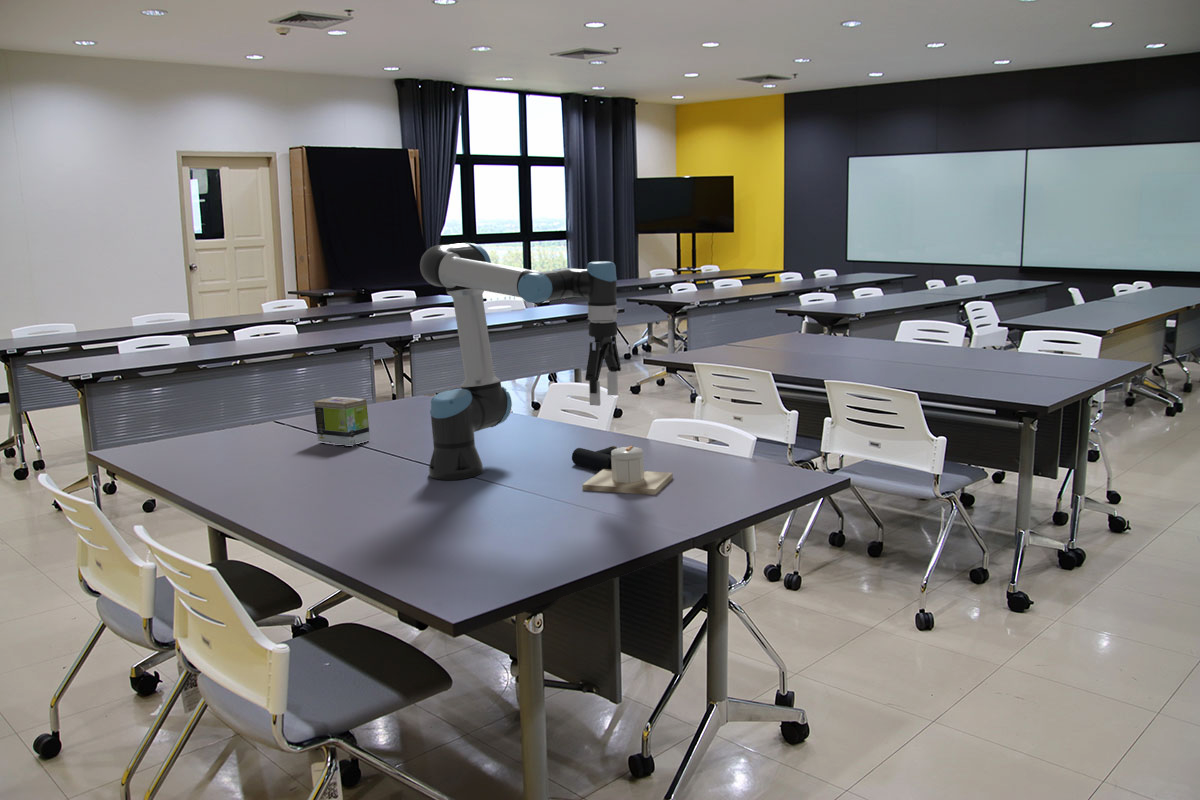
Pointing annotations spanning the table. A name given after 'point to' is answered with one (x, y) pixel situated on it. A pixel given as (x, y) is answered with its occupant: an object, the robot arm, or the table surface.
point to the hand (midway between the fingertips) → (604, 400)
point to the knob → (627, 464)
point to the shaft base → (646, 486)
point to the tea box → (342, 420)
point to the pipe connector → (593, 458)
